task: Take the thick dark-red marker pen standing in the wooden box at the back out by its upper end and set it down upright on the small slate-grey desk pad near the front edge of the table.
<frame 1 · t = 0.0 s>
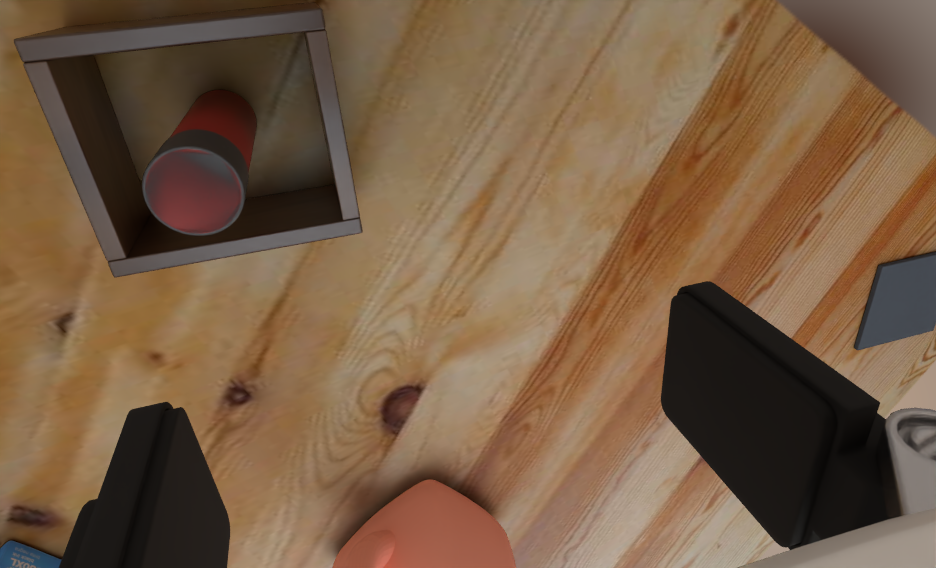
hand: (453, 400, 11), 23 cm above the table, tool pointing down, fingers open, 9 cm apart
teapot: (407, 526, 45), on the table
wooden box: (224, 121, 29), on the table
marker pen: (212, 150, 24), in the wooden box
desk pad: (905, 298, 49), on the table
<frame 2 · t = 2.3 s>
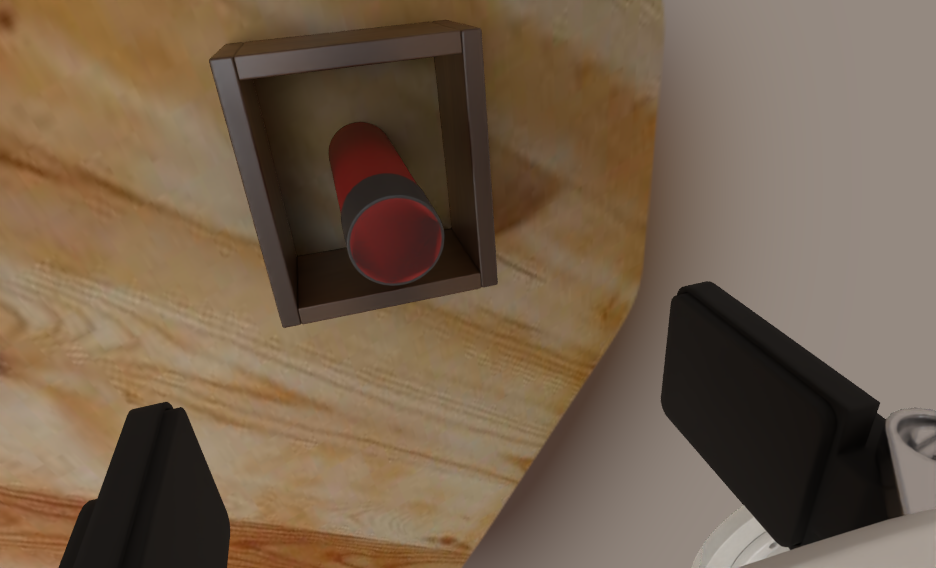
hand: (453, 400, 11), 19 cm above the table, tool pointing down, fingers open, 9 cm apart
wooden box: (361, 154, 28), on the table
marker pen: (375, 189, 23), in the wooden box
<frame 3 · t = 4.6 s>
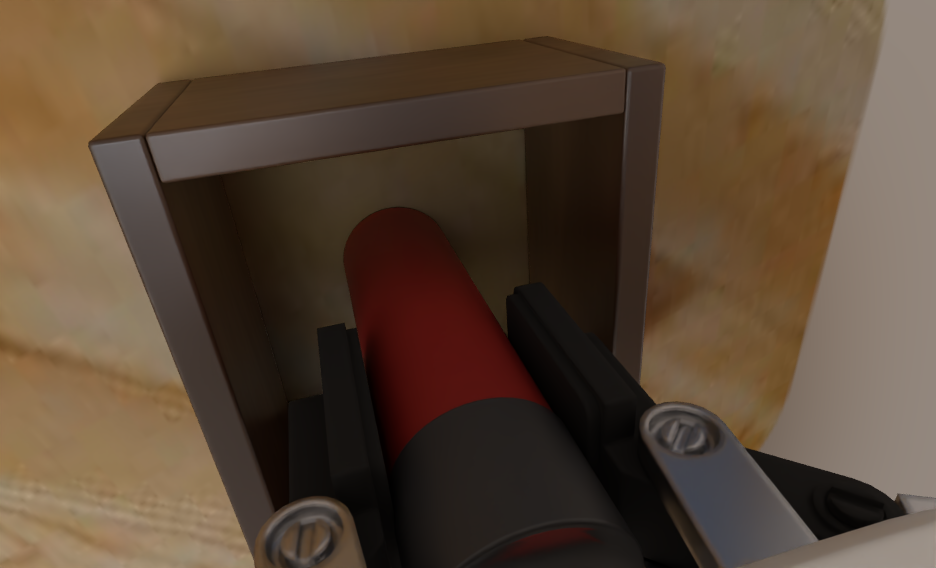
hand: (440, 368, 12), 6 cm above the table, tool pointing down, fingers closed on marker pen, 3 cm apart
wooden box: (396, 256, 17), on the table
marker pen: (439, 364, 12), in the wooden box, touching gripper
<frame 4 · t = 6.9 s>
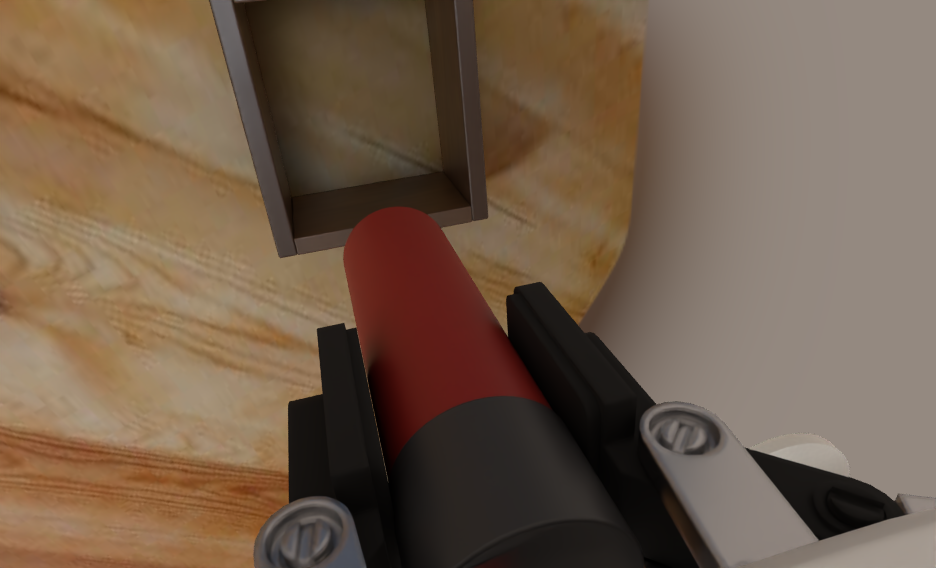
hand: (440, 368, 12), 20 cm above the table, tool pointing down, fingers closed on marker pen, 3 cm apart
wooden box: (353, 93, 28), on the table
marker pen: (439, 363, 12), point 20 cm above the table, touching gripper
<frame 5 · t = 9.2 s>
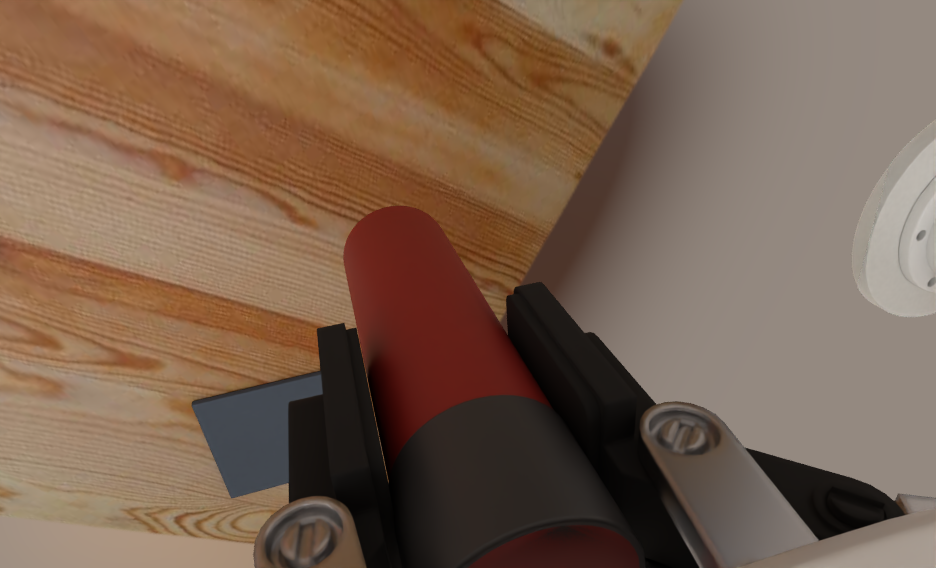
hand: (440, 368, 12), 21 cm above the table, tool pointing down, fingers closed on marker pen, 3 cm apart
marker pen: (439, 362, 12), point 21 cm above the table, touching gripper
desk pad: (277, 433, 37), on the table
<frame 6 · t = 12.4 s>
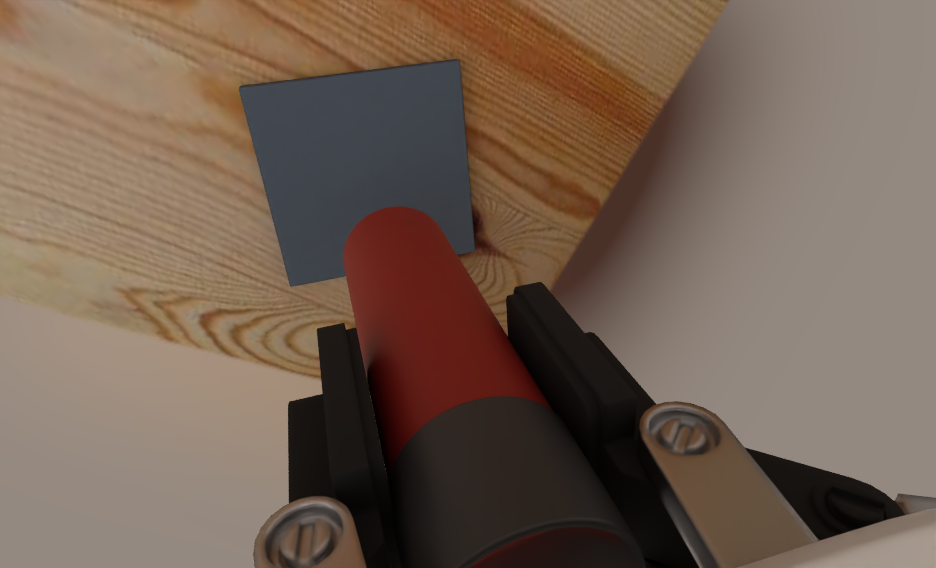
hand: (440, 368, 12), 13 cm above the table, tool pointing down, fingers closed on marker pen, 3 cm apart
marker pen: (439, 363, 12), point 13 cm above the table, touching gripper
desk pad: (369, 176, 23), on the table
when the fingers open (6 cm above the table, at t = 14.3 s): marker pen stays where it is, resting on desk pad.
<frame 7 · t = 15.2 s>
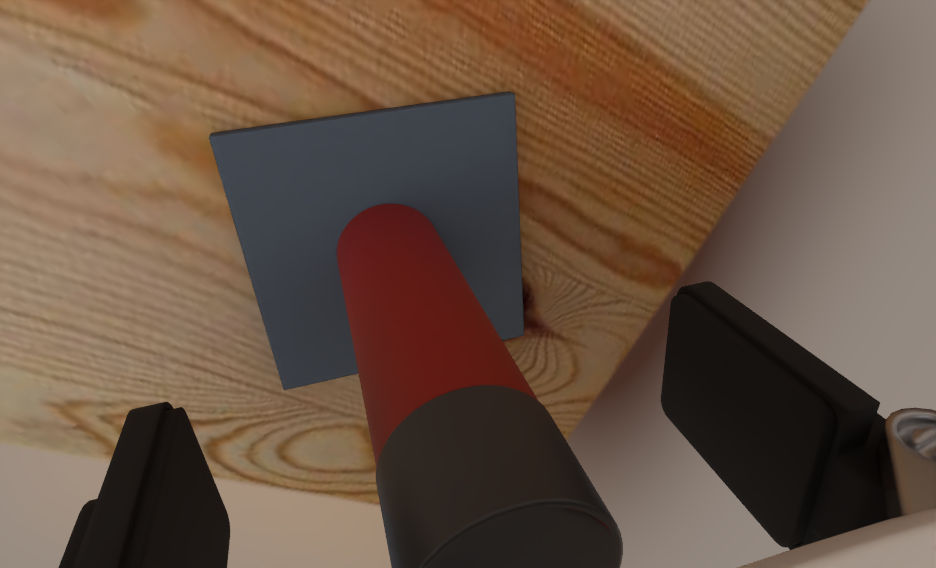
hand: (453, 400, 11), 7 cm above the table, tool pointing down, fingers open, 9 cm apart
marker pen: (429, 356, 12), on the desk pad
desk pad: (389, 246, 17), on the table
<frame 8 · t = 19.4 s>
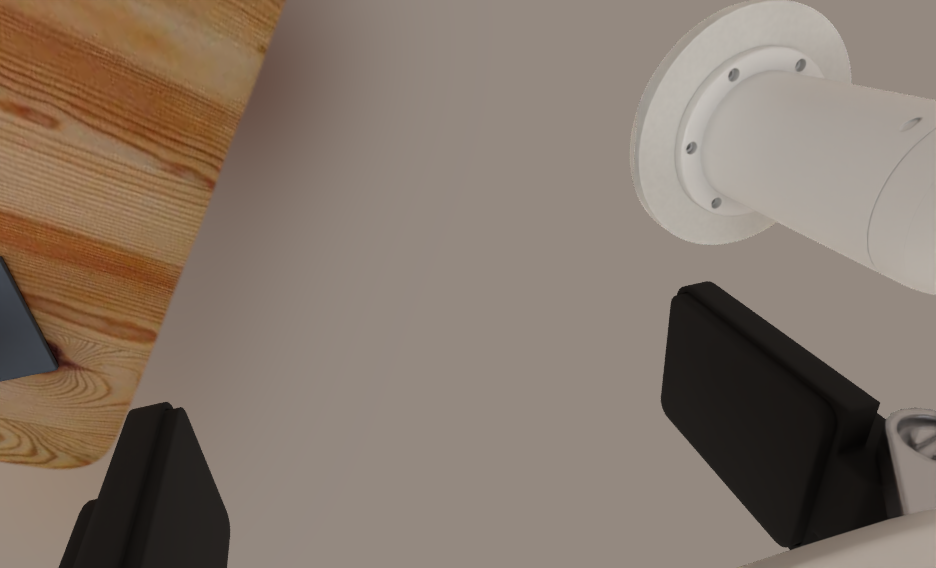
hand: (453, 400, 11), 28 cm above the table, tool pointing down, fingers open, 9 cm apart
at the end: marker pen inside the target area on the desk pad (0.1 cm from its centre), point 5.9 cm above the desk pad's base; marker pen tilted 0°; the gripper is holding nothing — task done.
